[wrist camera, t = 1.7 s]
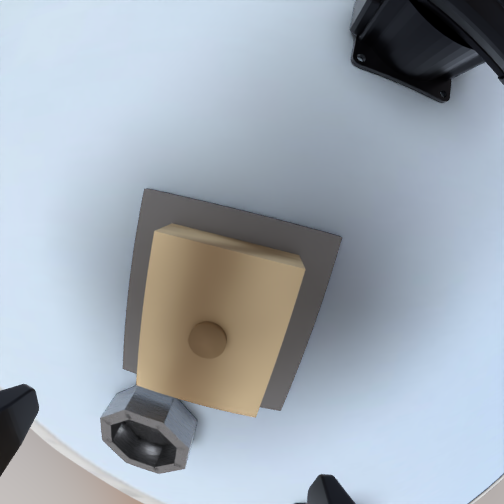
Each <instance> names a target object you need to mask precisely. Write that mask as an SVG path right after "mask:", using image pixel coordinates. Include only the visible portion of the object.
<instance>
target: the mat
mask: <svg viewBox="0 0 504 504" xmlns="http://www.w3.org/2000/svg"><path fill="white" fill-rule="evenodd" d="M172 223H173V224H177V225H181V226H185V227H189V228H193V229H197V230H201V231H205V232H209V233H213V234H217V235H221V236H225V237H229V238H233V239H237V240H241V241H245V242H249V243H253V244H257V245H261V246H265V247H269V248H273V249H277V250H281V251H285V252H289V253H292V254H296V255H299V256H300V258H301V260H302V262H303V265H304V267H305V273H304V276H303V279H302V283H301V286H300V289H299V292H298V296H297V299H296V302H295V305H294V308H293V312H292V315H291V318H290V321H289V324H288V327H287V330H286V333H285V336H284V339H283V342H282V345H281V348H280V351H279V354H278V357H277V360H276V363H275V366H274V368H273V371H272V374H271V377H270V380H269V383H268V385H267V388H266V391H265V394H264V396H263V399H262V402H261V405H260V407H262V408H267V409H273V410H279V411H281V409H282V406H283V404H284V402H285V399H286V397H287V394H288V392H289V389H290V387H291V385H292V382H293V380H294V377H295V374H296V372H297V369H298V367H299V364H300V362H301V359H302V356H303V354H304V351H305V348H306V346H307V343H308V340H309V338H310V335H311V332H312V329H313V326H314V324H315V321H316V318H317V315H318V312H319V309H320V306H321V303H322V300H323V297H324V294H325V291H326V288H327V285H328V282H329V279H330V276H331V273H332V270H333V266H334V263H335V260H336V257H337V253H338V250H339V247H340V243H341V240H342V237H340V236H337V235H334V234H330V233H327V232H323V231H319V230H316V229H312V228H308V227H305V226H301V225H297V224H293V223H289V222H286V221H282V220H278V219H274V218H270V217H266V216H262V215H258V214H254V213H250V212H246V211H242V210H238V209H234V208H230V207H226V206H222V205H218V204H213V203H209V202H205V201H201V200H196V199H192V198H188V197H183V196H179V195H175V194H170V193H166V192H161V191H157V190H152V189H144V193H143V198H142V203H141V209H140V214H139V220H138V226H137V232H136V238H135V244H134V251H133V258H132V265H131V273H130V281H129V290H128V300H127V310H126V322H125V335H124V351H123V369H125V370H128V371H130V372H133V373H136V374H137V364H138V351H139V340H140V330H141V320H142V311H143V303H144V295H145V287H146V280H147V273H148V267H149V260H150V254H151V248H152V242H153V236H154V231H155V230H158V229H160V228H162V227H165V226H167V225H169V224H172Z"/></svg>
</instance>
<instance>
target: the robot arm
mask: <svg viewBox="0 0 504 504" xmlns="http://www.w3.org/2000/svg"><path fill="white" fill-rule="evenodd" d="M350 31H351V32H352V34H355V40H354V45H353V50H352V56H351V61H352V63H353V64H354V65H355V66H357V67H359V68H362V69H365V70H367V71H370V72H373V73H375V74H378V75H381V76H383V77H386V78H388V79H391V80H393V81H395V82H398V83H400V84H402V85H405V86H407V87H409V88H411V89H414V90H416V91H418V92H420V93H422V94H424V95H426V96H428V97H430V98H432V99H434V100H436V101H438V102H441V103H444V102H447V101H448V100H449V98H450V90H451V79H452V78H454V77H456V76H458V75H460V74H462V73H464V72H466V71H468V70H470V69H472V68H474V67H476V66H478V65H480V64H482V63H484V62H486V63H487V64H488V65H489V66H490V67H491V68H492V69H493V71H494V72H495V73H496V74H497V75H498V79H499V80H500V81H501V82H502V84H503V85H504V0H356V1H355V4H354V10H353V15H352V21H351V26H350ZM358 56H359V57H361V58H363V62H362V61H359V60H358V59H357V57H358ZM440 92H442V94H443V96H444V97H442V96H441V94H440ZM38 411H39V404H38V400H37V396H36V391H35V390H34V389H33V388H32V387H30V386H28V385H26V384H21V385H18V386H15V387H12V388H8V389H5V390H1V391H0V476H1V475H2V473H3V472H4V470H5V469H6V467H7V465H8V464H9V462H10V461H11V459H12V458H13V456H14V455H15V453H16V452H17V450H18V449H19V447H20V445H21V444H22V442H23V440H24V438H25V436H26V434H27V432H28V430H29V428H30V427H31V425H32V423H33V421H34V419H35V417H36V415H37V413H38ZM307 504H355V502H354V501H353V500H352V499H351V497H350V496H349V495H348V494H347V492H346V491H345V490H344V489H343V487H342V486H341V485H340V483H339V482H338V481H337V480H336V478H335V477H334V476H333V475H325V474H321V475H319V476H318V477H317V478H316V480H315V481H314V482H313V484H312V485H311V486H310V488H309V490H308V497H307Z"/></svg>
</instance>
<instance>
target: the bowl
mask: <svg viewBox="0 0 504 504" xmlns="http://www.w3.org/2000/svg"><path fill="white" fill-rule="evenodd" d="M100 421H101V432H102V440H103V441H104V442H105V443H106V444H107V445H108V446H109V447H110V448H111V449H112V450H113V451H114V452H115V453H116V454H117V455H118V456H119V457H120V458H122V459H123V460H124V461H125V462H126V463H129V464H131V465H134V466H137V467H140V468H143V469H146V470H149V471H152V472H155V473H159V474H160V473H166V472H171V471H176V470H181V469H185V467H186V463H187V460H188V456H189V453H190V449H191V445H192V442H193V437H194V433H195V428H196V424H197V419H196V418H195V417H194V416H193V415H192V414H191V413H190V412H189V411H188V410H187V408H186V407H185V406H184V405H183V404H182V403H181V402H180V401H179V399H177V398H174V397H171V396H168V395H164V394H161V393H158V392H155V391H152V390H149V389H146V388H143V387H140V386H134V387H132V388H129V389H127V390H125V391H122V392H120V393H117V394H116V395H115V397H114V398H113V400H112V401H111V403H110V404H109V406H108V407H107V409H106V410H105V412H104V413H103V415H102V416H101V418H100Z"/></svg>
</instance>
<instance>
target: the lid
mask: <svg viewBox="0 0 504 504" xmlns="http://www.w3.org/2000/svg"><path fill="white" fill-rule="evenodd" d="M304 273H305V267H304V265H303V262H302V260H301V258H300V256H299V255H296V254H292V253H289V252H285V251H281V250H277V249H273V248H269V247H265V246H261V245H257V244H253V243H249V242H245V241H241V240H237V239H233V238H229V237H225V236H221V235H217V234H213V233H209V232H205V231H201V230H197V229H193V228H189V227H185V226H181V225H177V224H173V223H172V224H169V225H167V226H165V227H162V228H160V229H158V230H155V231H154V236H153V242H152V248H151V254H150V260H149V267H148V273H147V280H146V287H145V295H144V303H143V311H142V320H141V330H140V340H139V351H138V364H137V379H136V385H137V386H140V387H143V388H146V389H149V390H152V391H155V392H158V393H161V394H164V395H168V396H171V397H174V398H177V399H181V400H184V401H188V402H191V403H195V404H199V405H203V406H206V407H210V408H214V409H219V410H223V411H227V412H231V413H236V414H241V415H245V416H250V417H255V418H256V415H257V413H258V410H259V407H260V405H261V402H262V399H263V396H264V394H265V391H266V388H267V385H268V383H269V380H270V377H271V374H272V371H273V368H274V366H275V363H276V360H277V357H278V354H279V351H280V348H281V345H282V342H283V339H284V336H285V333H286V330H287V327H288V324H289V321H290V318H291V315H292V312H293V308H294V305H295V302H296V299H297V296H298V292H299V289H300V286H301V283H302V279H303V276H304Z"/></svg>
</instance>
